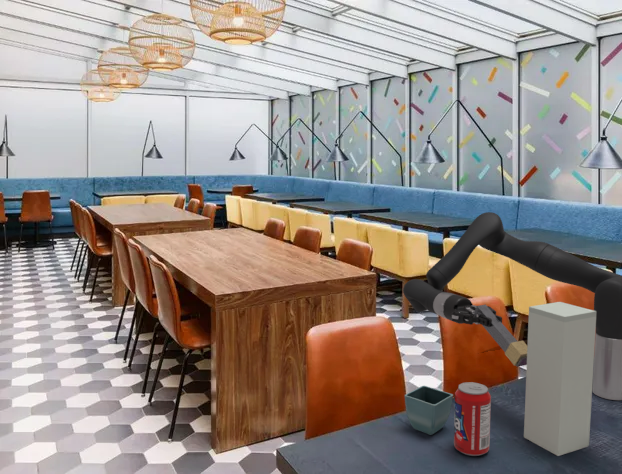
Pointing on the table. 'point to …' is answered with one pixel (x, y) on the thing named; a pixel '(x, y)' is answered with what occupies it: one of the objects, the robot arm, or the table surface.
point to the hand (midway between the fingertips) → (495, 322)
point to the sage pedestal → (559, 376)
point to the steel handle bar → (504, 338)
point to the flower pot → (428, 409)
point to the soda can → (472, 419)
